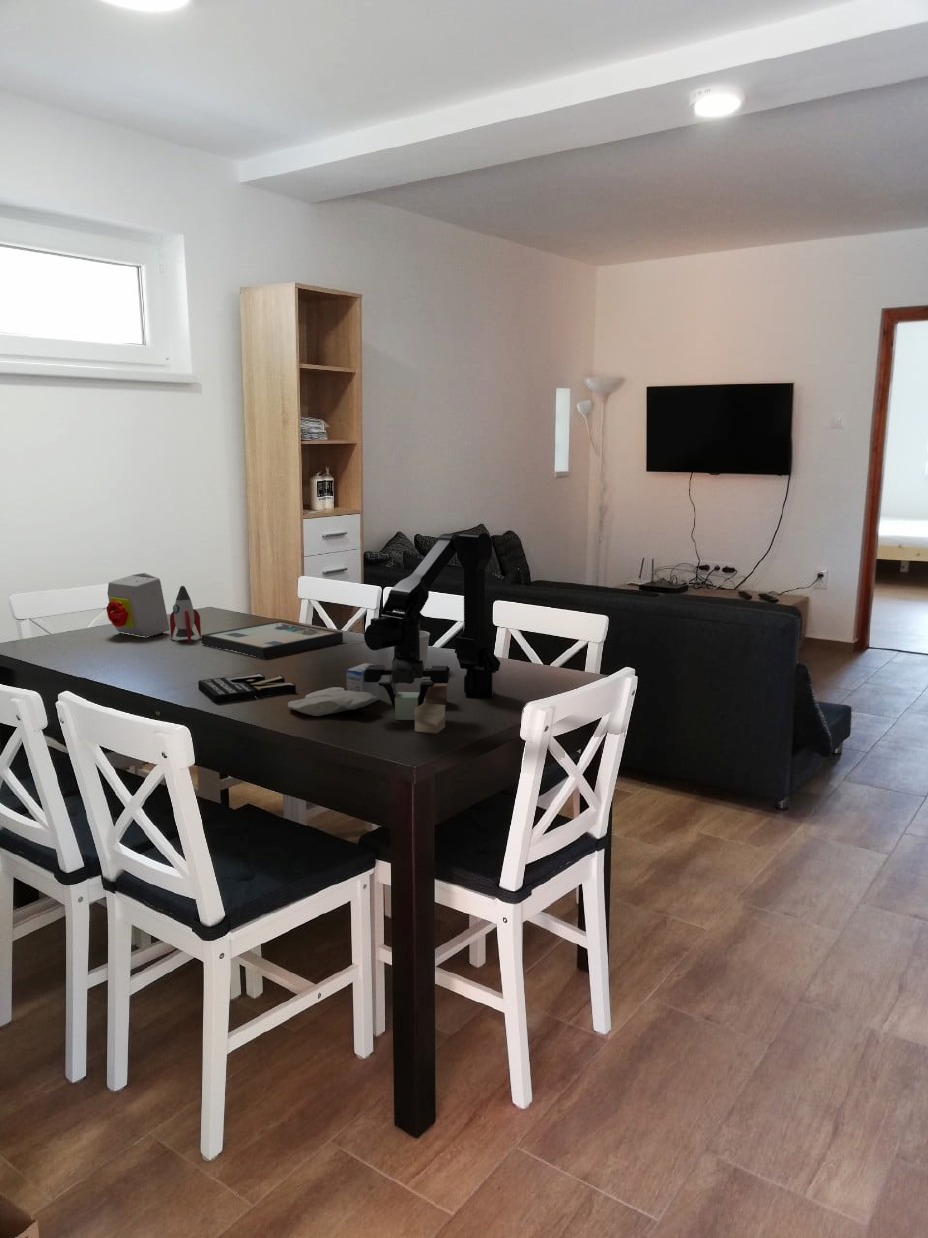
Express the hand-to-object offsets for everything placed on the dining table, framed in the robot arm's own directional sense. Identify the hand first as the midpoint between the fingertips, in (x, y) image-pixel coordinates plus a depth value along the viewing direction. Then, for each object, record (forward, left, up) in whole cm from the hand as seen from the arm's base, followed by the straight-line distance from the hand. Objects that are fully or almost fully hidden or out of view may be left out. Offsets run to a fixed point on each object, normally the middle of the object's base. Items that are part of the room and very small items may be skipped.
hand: (407, 711), depth 211 cm
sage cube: (0, 0, -1) cm, 1 cm away
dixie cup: (+4, -45, -1) cm, 45 cm away
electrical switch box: (+100, -86, -2) cm, 132 cm away
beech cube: (-6, +9, -1) cm, 11 cm away
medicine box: (+12, -11, -2) cm, 16 cm away
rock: (+19, -3, -2) cm, 20 cm away
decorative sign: (+43, -20, -2) cm, 47 cm away
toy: (+80, -80, -2) cm, 113 cm away
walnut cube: (-5, -11, -1) cm, 12 cm away
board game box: (+52, -76, -2) cm, 92 cm away
